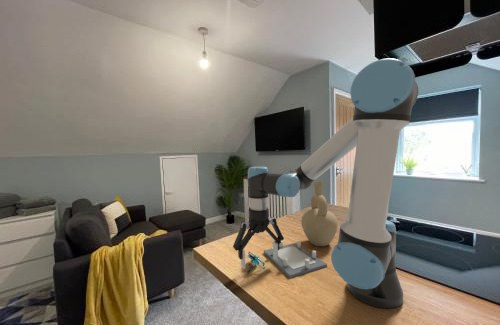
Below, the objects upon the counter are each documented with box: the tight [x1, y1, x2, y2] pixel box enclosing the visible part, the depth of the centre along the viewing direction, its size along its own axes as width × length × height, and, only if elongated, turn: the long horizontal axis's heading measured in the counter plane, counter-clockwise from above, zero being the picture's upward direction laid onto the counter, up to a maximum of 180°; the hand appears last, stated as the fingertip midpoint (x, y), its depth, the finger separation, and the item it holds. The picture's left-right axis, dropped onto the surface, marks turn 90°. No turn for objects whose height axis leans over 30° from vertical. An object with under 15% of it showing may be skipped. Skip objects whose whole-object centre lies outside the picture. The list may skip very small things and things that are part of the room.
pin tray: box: [263, 240, 328, 279], centre depth 87 cm, size 21×17×4 cm
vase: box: [300, 181, 339, 247], centre depth 101 cm, size 17×17×30 cm
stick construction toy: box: [246, 251, 266, 274], centre depth 81 cm, size 12×7×8 cm
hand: (259, 262), depth 79 cm, fingers open, 13 cm apart
